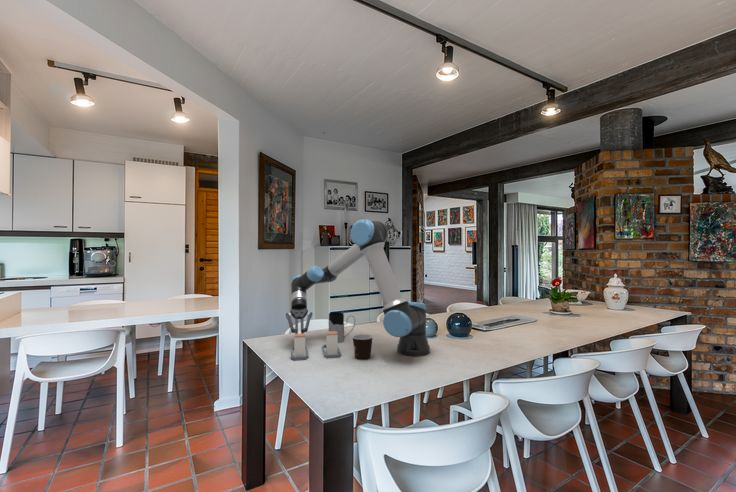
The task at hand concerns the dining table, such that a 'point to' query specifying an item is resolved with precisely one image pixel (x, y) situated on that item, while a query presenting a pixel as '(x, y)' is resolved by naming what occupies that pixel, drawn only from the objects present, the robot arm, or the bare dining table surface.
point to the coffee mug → (362, 346)
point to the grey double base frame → (308, 355)
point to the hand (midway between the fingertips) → (299, 345)
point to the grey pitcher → (338, 325)
